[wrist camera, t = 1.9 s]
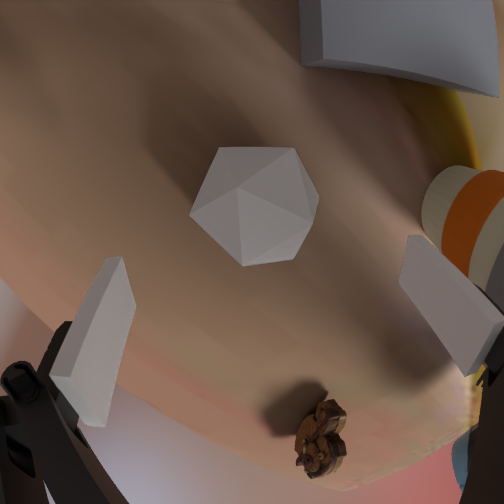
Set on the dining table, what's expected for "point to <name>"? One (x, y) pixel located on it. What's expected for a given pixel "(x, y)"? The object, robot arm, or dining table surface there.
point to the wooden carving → (321, 440)
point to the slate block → (405, 40)
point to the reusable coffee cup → (469, 224)
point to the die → (257, 203)
